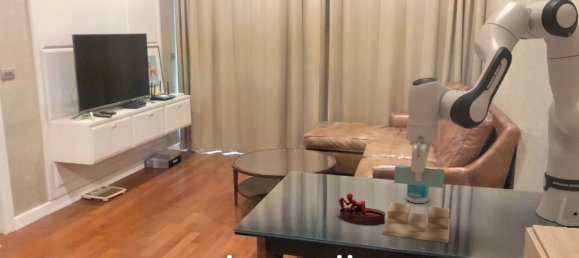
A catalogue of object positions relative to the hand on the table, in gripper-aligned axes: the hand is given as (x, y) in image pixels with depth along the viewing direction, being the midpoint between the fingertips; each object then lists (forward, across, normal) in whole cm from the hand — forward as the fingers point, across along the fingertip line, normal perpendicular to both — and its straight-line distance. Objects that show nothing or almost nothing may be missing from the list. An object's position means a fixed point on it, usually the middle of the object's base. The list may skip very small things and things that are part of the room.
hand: (419, 179), depth 144 cm
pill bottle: (+17, +28, +2) cm, 33 cm away
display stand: (+17, +3, 0) cm, 17 cm away
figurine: (+17, +5, +18) cm, 25 cm away
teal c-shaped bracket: (+2, +5, 0) cm, 5 cm away
